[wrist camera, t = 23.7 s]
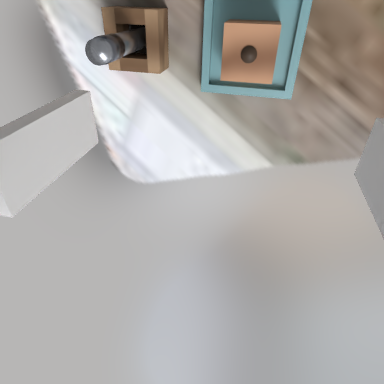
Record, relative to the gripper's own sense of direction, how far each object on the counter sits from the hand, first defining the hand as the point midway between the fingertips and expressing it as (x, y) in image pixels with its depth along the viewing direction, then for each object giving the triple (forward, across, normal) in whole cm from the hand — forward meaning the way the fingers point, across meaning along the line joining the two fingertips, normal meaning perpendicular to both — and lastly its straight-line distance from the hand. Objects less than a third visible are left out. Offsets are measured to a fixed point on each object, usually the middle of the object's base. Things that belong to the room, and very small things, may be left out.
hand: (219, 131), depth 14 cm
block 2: (+28, 0, 0) cm, 28 cm away
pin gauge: (+29, -14, 0) cm, 32 cm away
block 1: (+29, -14, 0) cm, 32 cm away
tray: (+29, 0, 0) cm, 29 cm away
